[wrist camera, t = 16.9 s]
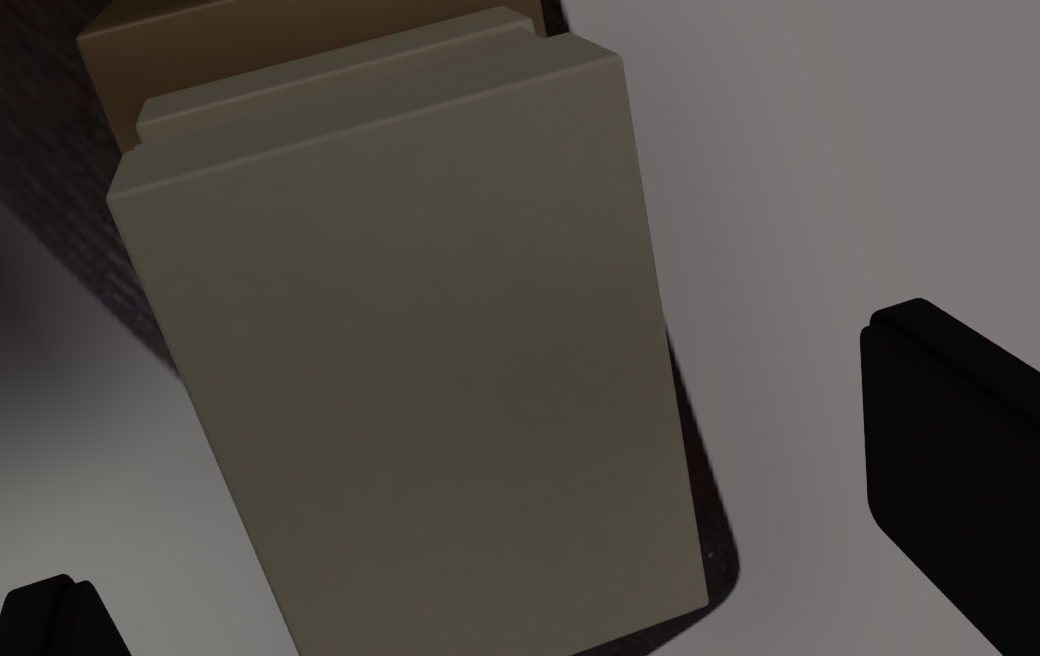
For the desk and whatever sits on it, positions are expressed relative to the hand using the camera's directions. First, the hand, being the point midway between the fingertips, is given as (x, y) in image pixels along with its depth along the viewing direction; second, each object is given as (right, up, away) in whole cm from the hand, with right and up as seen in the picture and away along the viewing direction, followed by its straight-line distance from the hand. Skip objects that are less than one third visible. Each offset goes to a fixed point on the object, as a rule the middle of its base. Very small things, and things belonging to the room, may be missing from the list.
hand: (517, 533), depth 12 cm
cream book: (-1, +2, +5) cm, 5 cm away
